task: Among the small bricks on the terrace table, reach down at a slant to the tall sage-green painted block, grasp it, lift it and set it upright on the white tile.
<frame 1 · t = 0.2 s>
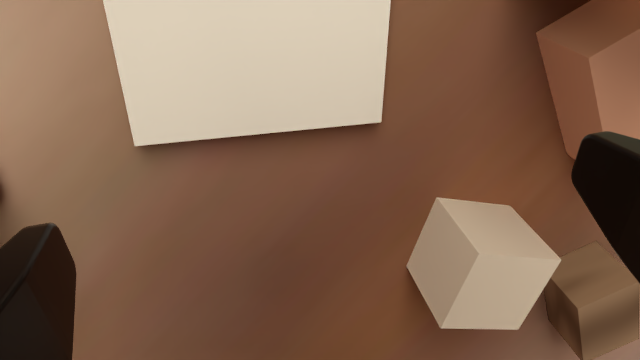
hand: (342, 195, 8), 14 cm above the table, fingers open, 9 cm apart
cream cube: (456, 235, 30), on the table
white tile: (253, 0, 20), on the table
walnut block: (569, 280, 35), on the table
terracotta brick: (584, 77, 26), on the table
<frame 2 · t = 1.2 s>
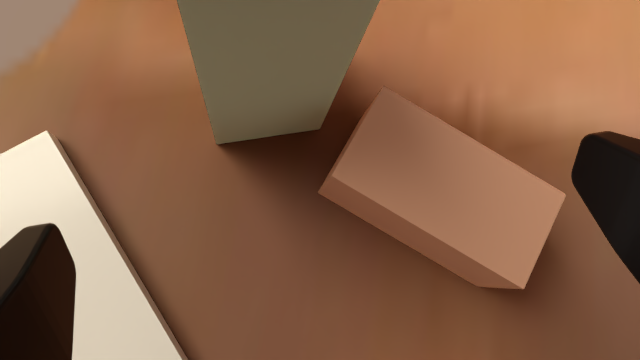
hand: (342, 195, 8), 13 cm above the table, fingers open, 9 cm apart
tall sage block: (260, 87, 22), on the table
terracotta brick: (417, 201, 22), on the table
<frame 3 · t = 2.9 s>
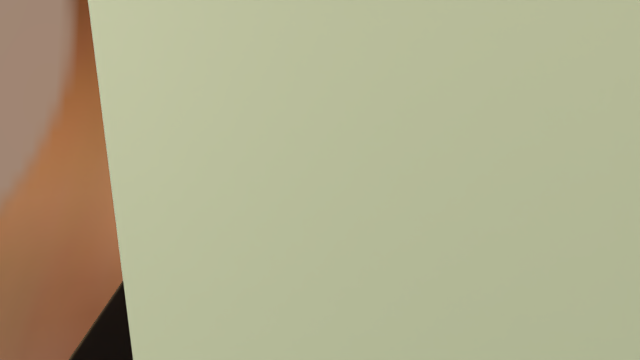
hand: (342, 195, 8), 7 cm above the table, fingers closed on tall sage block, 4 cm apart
tall sage block: (311, 275, 15), on the table, touching gripper
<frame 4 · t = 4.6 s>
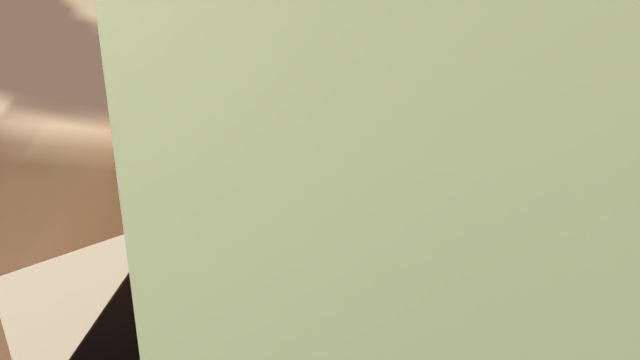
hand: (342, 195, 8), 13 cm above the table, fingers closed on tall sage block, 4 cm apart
tall sage block: (312, 273, 15), point 7 cm above the table, touching gripper
when the fingers open (9 cm above the table, at t = 6.2 s): tall sage block drops 1 cm, resting on white tile.
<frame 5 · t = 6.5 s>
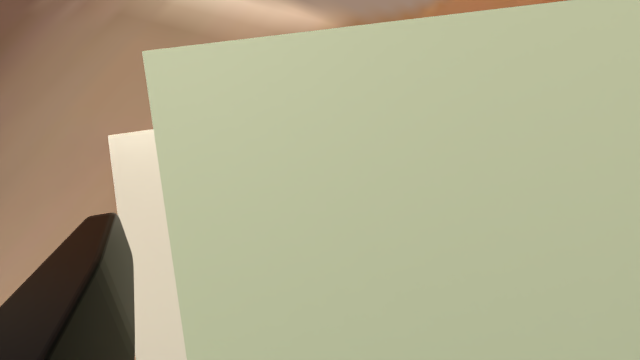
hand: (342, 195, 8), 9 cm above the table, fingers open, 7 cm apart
tall sage block: (306, 274, 16), point 1 cm above the table, touching white tile
white tile: (303, 274, 17), on the table
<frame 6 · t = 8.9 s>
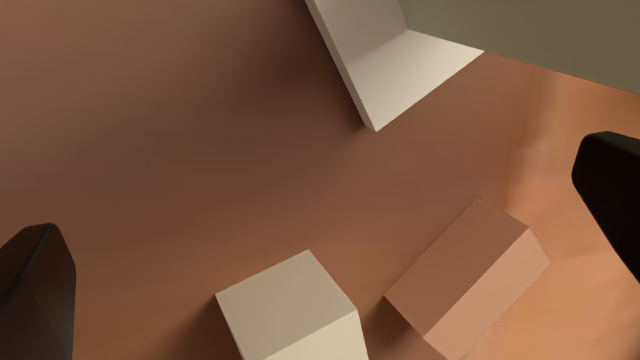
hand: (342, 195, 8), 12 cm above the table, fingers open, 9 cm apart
cream cube: (274, 305, 26), on the table
terracotta brick: (443, 259, 31), on the table
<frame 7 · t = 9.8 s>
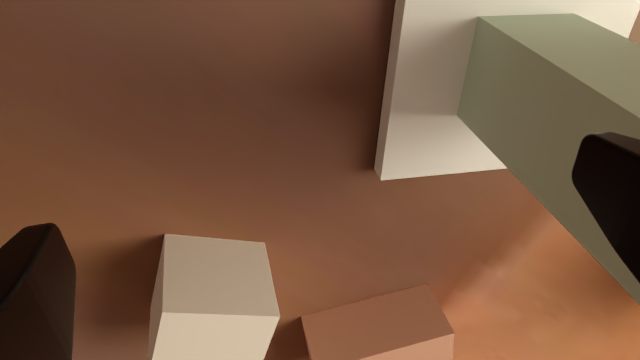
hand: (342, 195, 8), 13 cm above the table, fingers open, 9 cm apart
tall sage block: (513, 66, 22), point 1 cm above the table, touching white tile
cream cube: (206, 273, 26), on the table
white tile: (501, 58, 23), on the table
terracotta brick: (366, 318, 32), on the table
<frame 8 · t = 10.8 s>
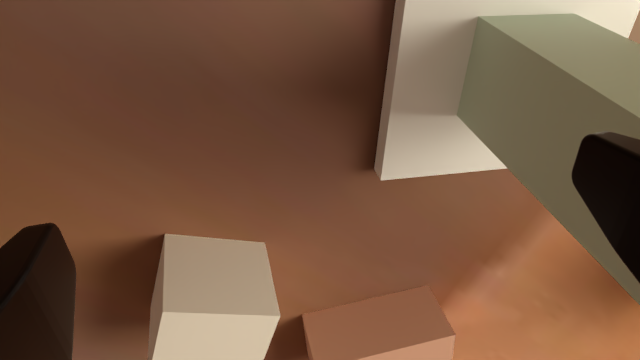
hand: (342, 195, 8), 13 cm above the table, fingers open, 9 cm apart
tall sage block: (513, 66, 22), point 1 cm above the table, touching white tile
cream cube: (206, 273, 26), on the table
white tile: (501, 58, 23), on the table
terracotta brick: (366, 318, 32), on the table
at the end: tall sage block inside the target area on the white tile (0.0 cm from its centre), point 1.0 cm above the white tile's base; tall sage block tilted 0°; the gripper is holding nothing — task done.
